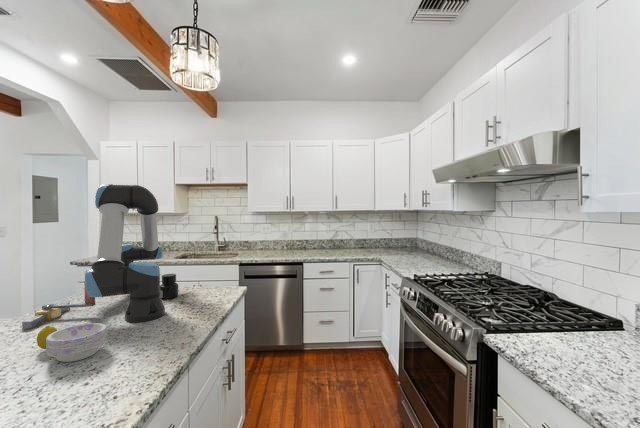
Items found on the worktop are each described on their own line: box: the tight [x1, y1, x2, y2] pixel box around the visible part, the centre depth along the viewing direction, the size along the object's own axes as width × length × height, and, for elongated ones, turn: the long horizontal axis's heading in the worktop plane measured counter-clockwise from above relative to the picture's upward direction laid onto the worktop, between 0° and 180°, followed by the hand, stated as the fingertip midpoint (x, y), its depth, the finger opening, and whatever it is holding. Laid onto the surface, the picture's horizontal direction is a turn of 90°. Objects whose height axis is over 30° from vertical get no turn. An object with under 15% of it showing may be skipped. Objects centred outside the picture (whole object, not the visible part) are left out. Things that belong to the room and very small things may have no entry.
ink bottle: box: [160, 273, 179, 301], centre depth 159 cm, size 10×9×12 cm
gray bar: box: [21, 302, 71, 331], centre depth 130 cm, size 6×24×4 cm, turn 11°
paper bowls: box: [45, 322, 108, 363], centre depth 97 cm, size 15×15×8 cm
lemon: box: [36, 325, 59, 350], centre depth 101 cm, size 6×6×8 cm
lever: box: [41, 280, 96, 310], centre depth 131 cm, size 20×4×11 cm, turn 101°
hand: (92, 288), depth 135 cm, fingers closed
